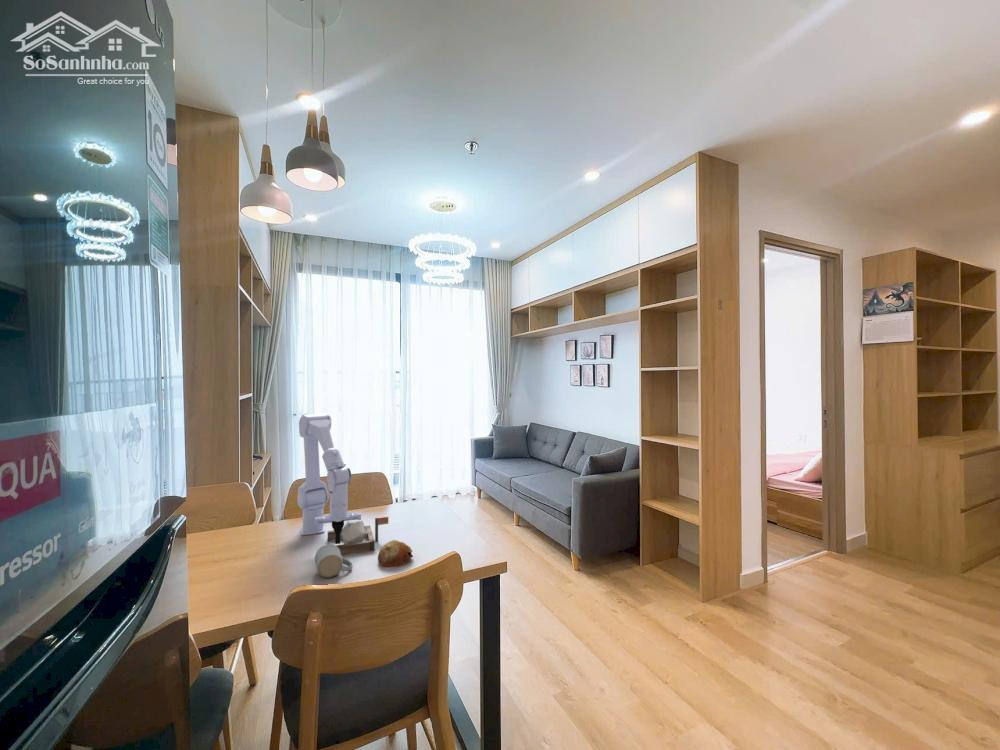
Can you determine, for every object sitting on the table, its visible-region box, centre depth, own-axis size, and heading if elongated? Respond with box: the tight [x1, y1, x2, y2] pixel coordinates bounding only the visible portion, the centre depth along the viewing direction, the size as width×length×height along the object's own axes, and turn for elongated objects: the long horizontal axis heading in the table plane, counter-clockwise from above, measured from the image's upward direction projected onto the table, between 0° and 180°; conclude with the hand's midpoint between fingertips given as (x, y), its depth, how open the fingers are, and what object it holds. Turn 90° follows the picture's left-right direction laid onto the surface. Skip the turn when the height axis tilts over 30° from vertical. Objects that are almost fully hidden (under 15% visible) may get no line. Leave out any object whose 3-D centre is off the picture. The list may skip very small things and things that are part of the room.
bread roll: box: [377, 539, 414, 569], centre depth 132 cm, size 10×10×8 cm
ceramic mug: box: [314, 543, 353, 579], centre depth 124 cm, size 10×8×7 cm
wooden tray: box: [327, 516, 389, 557], centre depth 145 cm, size 16×20×8 cm
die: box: [340, 520, 368, 544], centre depth 144 cm, size 8×9×10 cm
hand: (338, 542), depth 143 cm, fingers closed, pressing on die
